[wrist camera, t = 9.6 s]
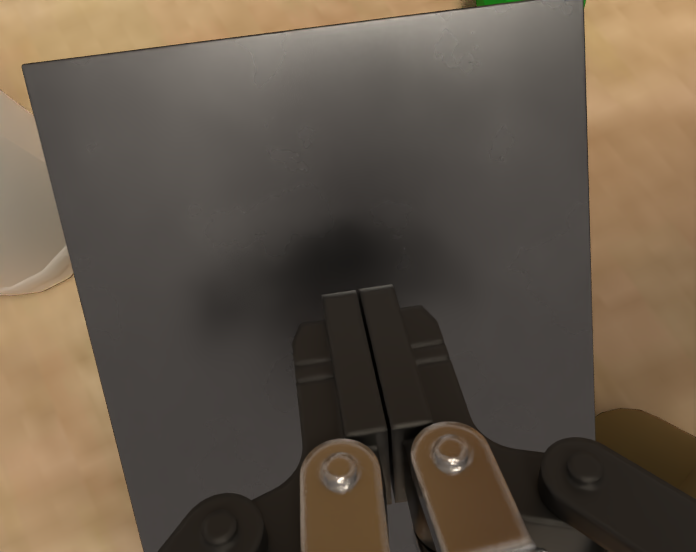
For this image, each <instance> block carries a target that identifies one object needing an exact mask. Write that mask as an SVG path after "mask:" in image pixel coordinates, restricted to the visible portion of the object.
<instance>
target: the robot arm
mask: <svg viewBox="0 0 696 552" xmlns="http://www.w3.org/2000/svg"><path fill="white" fill-rule="evenodd" d="M358 300H359V301H358ZM322 303H323V310H324V318H325V320H319V321H313V322H306V323H300V325H299V327H298V330H297V332H296V334H295V337H294V339H293V342H292V349H293V359H294V367H295V378H296V388H297V397H298V407H299V416H300V426H301V436H302V456H301V459H300V462H299V464H298V466H297V468H296V470H295V471H294V472H293V474H292V475H291V476H290V477H289V478H288V479H287V480H286V481H285V482H284V483H282V484H281V485H280V486H278V487H276V488H274V489H273V490H271V491H269V492H267V493H265V494H263V495H261V496H259V497H257V498H255V499H253V500H250V499H249V498H247V497H245V496H243V495H240V494H235V493H222V494H217V495H213V496H211V497H208V498H206V499H204V500H203V501H201V502H199V503H198V504H197V505H196V506H195V507H193V508H192V509H191V511H190V512H189V513H188V514H187V515H186V516H185V518H184V519H183V520H182V521H181V523H180V524H179V525H178V526H177V528H176V529H175V530H174V531H173V533H172V534H171V535H170V536H169V538H168V539H167V540H166V542H165V543H164V544H163V545H162V547H161V548H160V549H159V550H158V552H390V548H389V529H388V514H387V505H389V504H392V497H391V485H392V490H393V495H394V499H395V503H400V502H405V501H408V506H409V510H410V514H411V519H412V523H413V540H414V544H415V548H416V551H417V552H696V499H695V498H693V497H691V496H690V495H688V494H686V493H684V492H683V491H681V490H679V489H678V488H676V487H674V486H673V485H671V484H669V483H668V482H666V481H664V480H663V479H661V478H659V477H657V476H656V475H654V474H652V473H651V472H649V471H647V470H646V469H644V468H642V467H641V466H639V465H637V464H636V463H634V462H632V461H630V460H629V459H627V458H625V457H624V456H622V455H620V454H619V453H617V452H615V451H614V450H612V449H610V448H608V447H607V446H605V445H603V444H601V443H599V442H597V441H594V440H591V439H587V438H582V437H569V438H564V439H561V440H559V441H556V442H555V443H553V444H552V445H551V446H549V447H548V448H547V450H546V451H545V453H544V452H537V451H529V450H521V449H514V448H509V447H506V446H503V445H500V444H498V443H496V442H493V441H492V440H490V439H489V438H487V437H486V436H485V435H483V434H482V433H481V432H480V431H479V430H478V429H477V427H476V426H475V424H474V423H473V421H472V419H471V416H470V414H469V411H468V408H467V405H466V402H465V399H464V396H463V394H462V391H461V388H460V385H459V382H458V379H457V376H456V373H455V371H454V368H453V365H452V362H451V360H450V357H449V353H448V350H447V348H446V345H445V344H444V339H443V336H442V333H441V330H440V328H439V325H438V322H437V320H436V319H435V318H434V317H433V316H432V315H431V314H430V313H429V312H428V311H427V310H426V309H425V308H424V307H423V306H422V305H417V306H410V307H404V308H400V306H399V303H398V299H397V296H396V293H395V289H394V286H393V285H392V284H390V285H383V286H376V287H370V288H363V289H358V297H357V293H356V290H351V291H344V292H337V293H331V294H324V295H322Z"/></svg>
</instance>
